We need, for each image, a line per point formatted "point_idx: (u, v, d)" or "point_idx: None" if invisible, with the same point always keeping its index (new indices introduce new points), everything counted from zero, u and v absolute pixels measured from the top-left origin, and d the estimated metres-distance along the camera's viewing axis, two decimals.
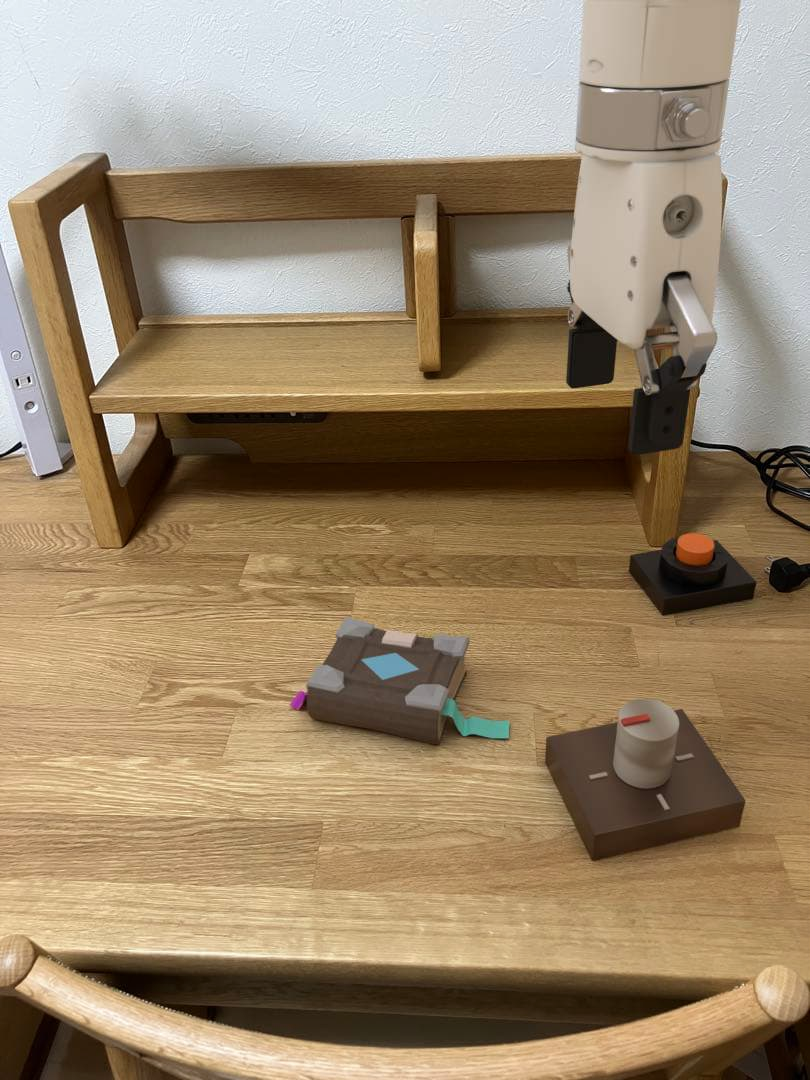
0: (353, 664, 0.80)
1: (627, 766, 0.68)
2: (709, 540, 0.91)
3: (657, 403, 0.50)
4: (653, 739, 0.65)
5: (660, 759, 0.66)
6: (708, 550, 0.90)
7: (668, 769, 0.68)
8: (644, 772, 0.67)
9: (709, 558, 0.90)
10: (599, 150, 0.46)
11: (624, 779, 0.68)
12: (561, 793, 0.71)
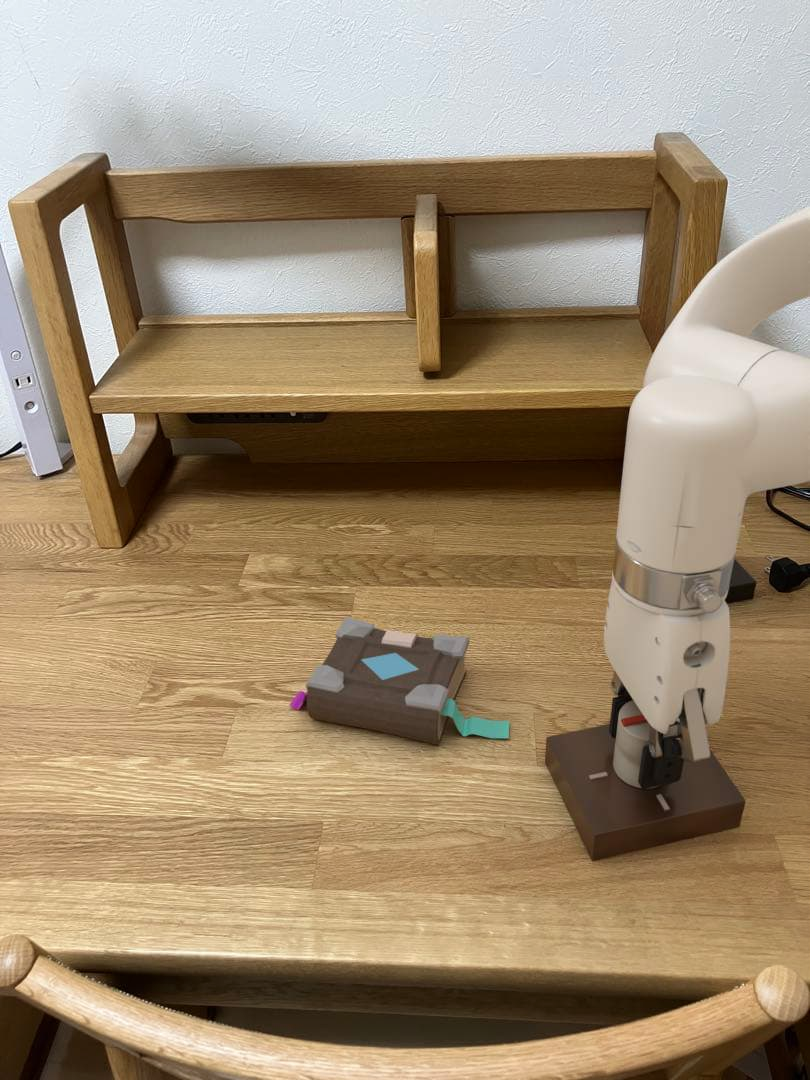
0: (353, 665, 0.80)
1: (627, 766, 0.68)
2: None
3: (660, 761, 0.64)
4: None
5: None
6: None
7: None
8: None
9: None
10: (633, 599, 0.58)
11: (624, 779, 0.68)
12: (561, 793, 0.71)
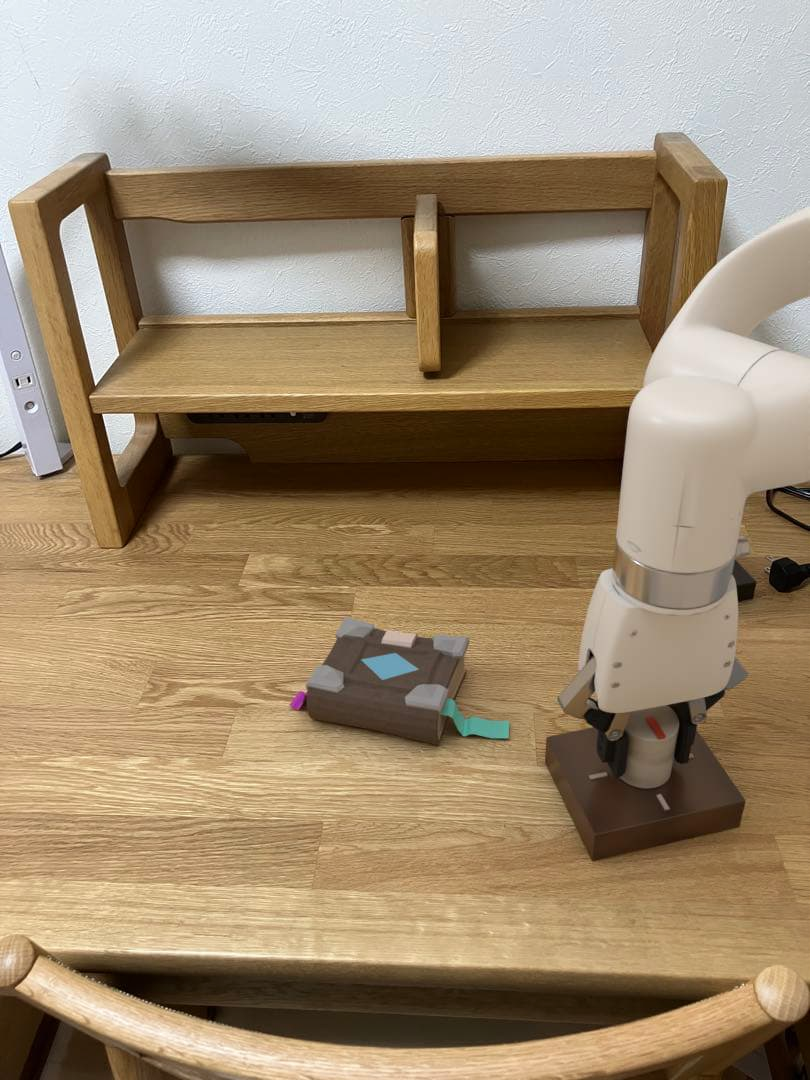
0: (353, 665, 0.80)
1: (669, 765, 0.67)
2: None
3: None
4: (677, 719, 0.67)
5: None
6: None
7: None
8: None
9: None
10: (717, 602, 0.57)
11: (666, 780, 0.68)
12: (561, 793, 0.71)
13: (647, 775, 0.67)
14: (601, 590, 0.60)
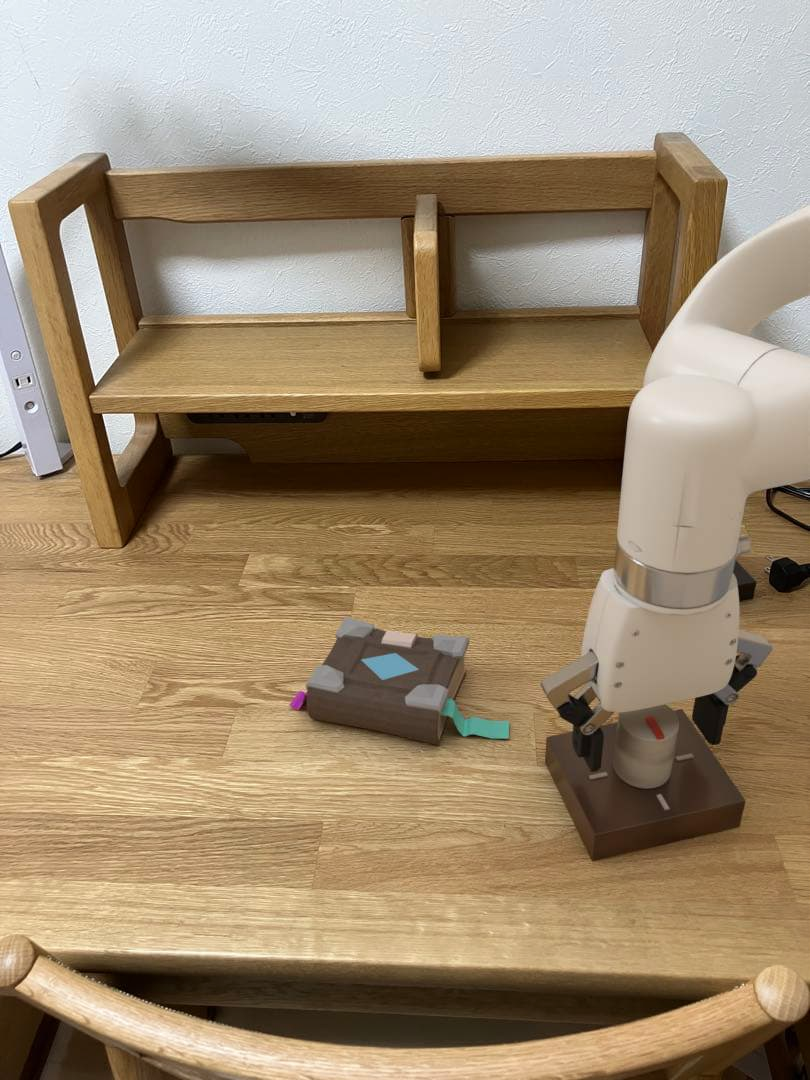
0: (353, 665, 0.80)
1: (668, 766, 0.67)
2: None
3: None
4: (678, 720, 0.67)
5: None
6: None
7: None
8: None
9: None
10: (719, 600, 0.57)
11: (665, 781, 0.68)
12: (561, 793, 0.71)
13: (646, 775, 0.67)
14: (602, 590, 0.60)
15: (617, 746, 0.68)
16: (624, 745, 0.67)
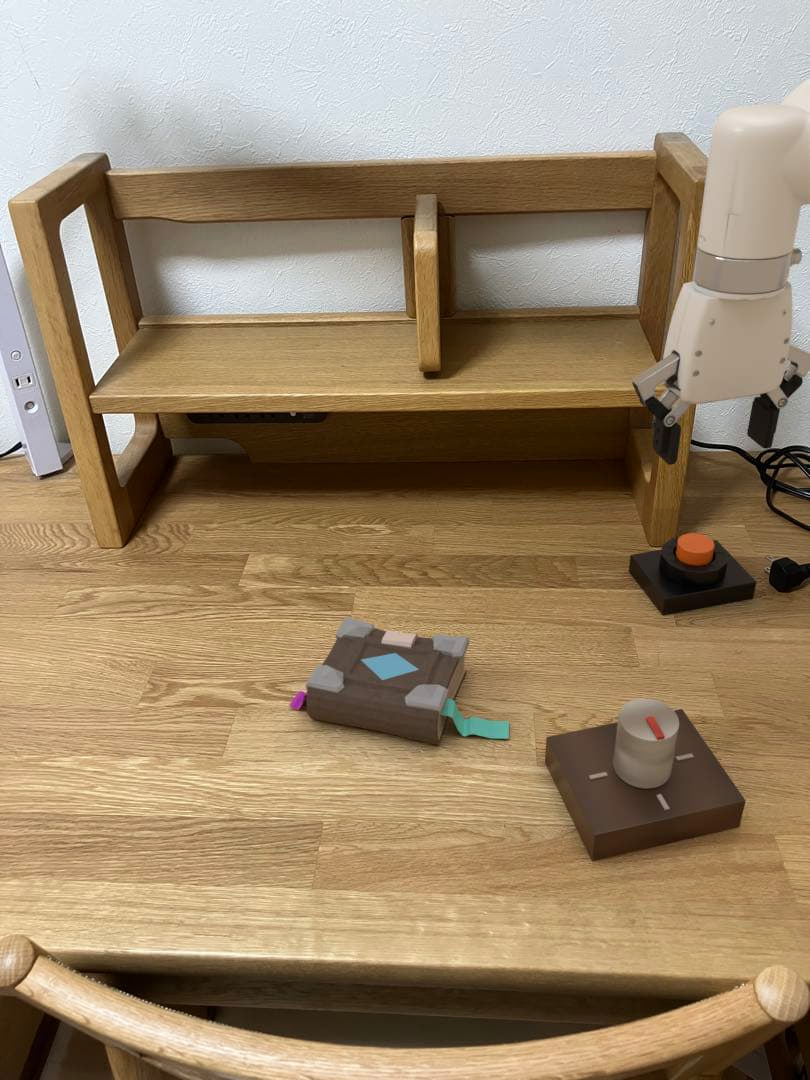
0: (353, 665, 0.80)
1: (668, 766, 0.67)
2: (709, 540, 0.91)
3: (779, 410, 0.83)
4: (678, 720, 0.67)
5: None
6: (708, 550, 0.90)
7: None
8: None
9: (709, 558, 0.90)
10: (779, 290, 0.73)
11: (665, 781, 0.68)
12: (561, 793, 0.71)
13: (646, 775, 0.67)
14: (684, 293, 0.76)
15: (617, 746, 0.68)
16: (624, 745, 0.67)
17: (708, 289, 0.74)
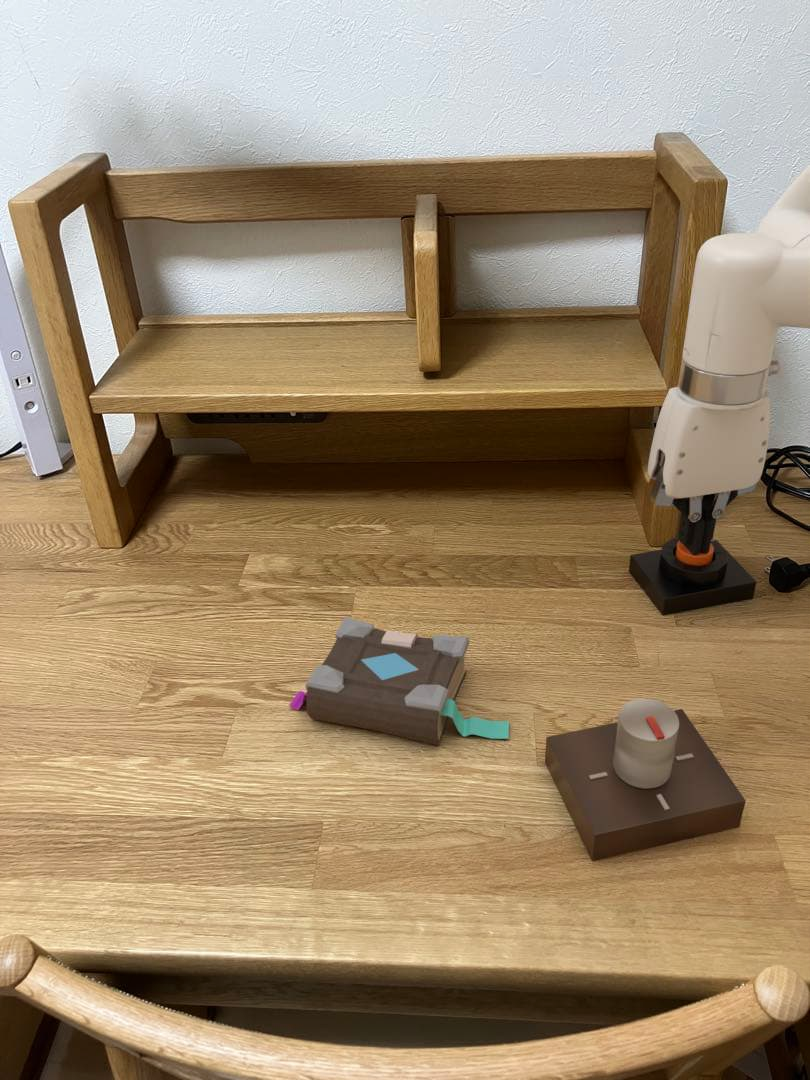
0: (353, 665, 0.80)
1: (668, 766, 0.67)
2: None
3: (715, 519, 0.89)
4: (678, 720, 0.67)
5: None
6: (707, 554, 0.90)
7: None
8: None
9: (708, 562, 0.90)
10: (757, 401, 0.79)
11: (665, 781, 0.68)
12: (561, 793, 0.71)
13: (646, 775, 0.67)
14: (670, 399, 0.82)
15: (617, 746, 0.68)
16: (624, 745, 0.67)
17: (691, 398, 0.80)
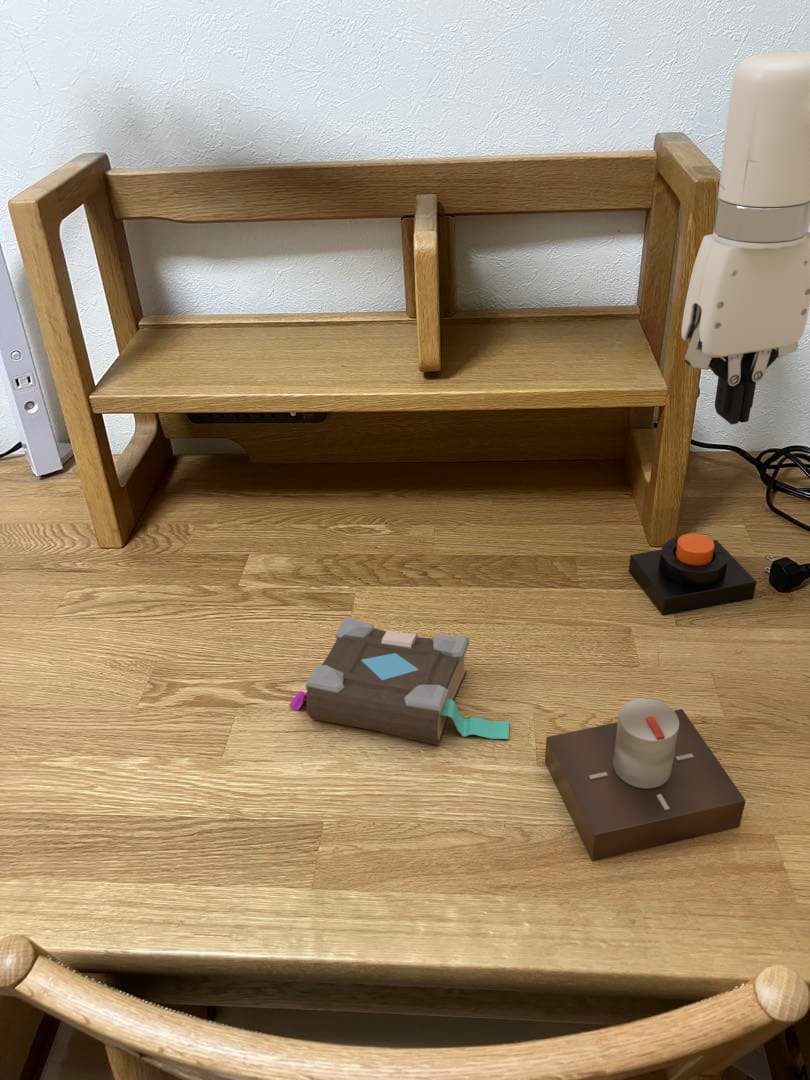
0: (353, 665, 0.80)
1: (668, 766, 0.67)
2: (709, 540, 0.91)
3: (755, 383, 0.83)
4: (678, 720, 0.67)
5: None
6: (708, 550, 0.90)
7: None
8: None
9: (709, 558, 0.90)
10: (800, 239, 0.73)
11: (665, 781, 0.68)
12: (561, 793, 0.71)
13: (646, 775, 0.67)
14: (705, 245, 0.76)
15: (617, 746, 0.68)
16: (624, 745, 0.67)
17: (729, 239, 0.74)
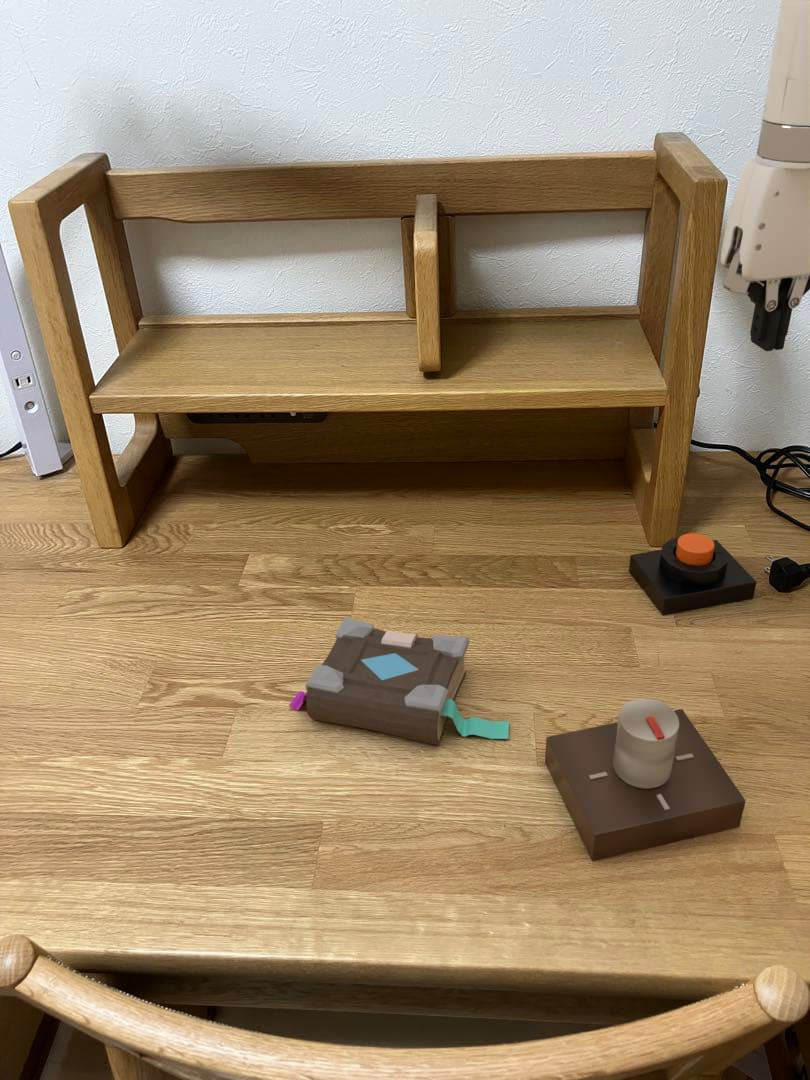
0: (353, 665, 0.80)
1: (668, 766, 0.67)
2: (709, 540, 0.91)
3: (791, 311, 0.85)
4: (678, 720, 0.67)
5: None
6: (708, 550, 0.90)
7: None
8: None
9: (709, 558, 0.90)
10: None
11: (665, 781, 0.68)
12: (561, 793, 0.71)
13: (646, 775, 0.67)
14: (749, 167, 0.78)
15: (617, 746, 0.68)
16: (624, 745, 0.67)
17: (773, 160, 0.76)
